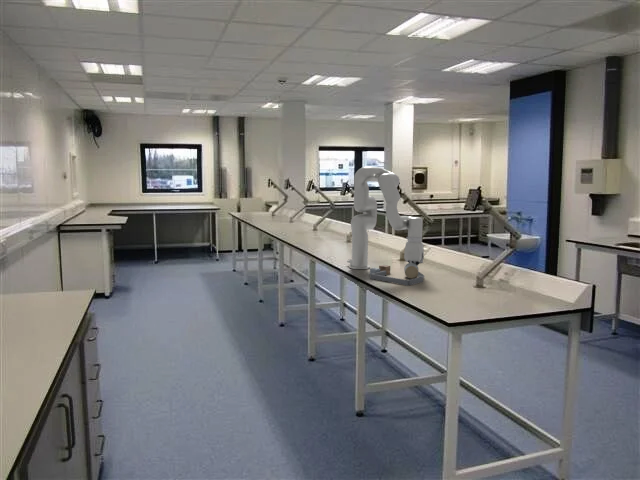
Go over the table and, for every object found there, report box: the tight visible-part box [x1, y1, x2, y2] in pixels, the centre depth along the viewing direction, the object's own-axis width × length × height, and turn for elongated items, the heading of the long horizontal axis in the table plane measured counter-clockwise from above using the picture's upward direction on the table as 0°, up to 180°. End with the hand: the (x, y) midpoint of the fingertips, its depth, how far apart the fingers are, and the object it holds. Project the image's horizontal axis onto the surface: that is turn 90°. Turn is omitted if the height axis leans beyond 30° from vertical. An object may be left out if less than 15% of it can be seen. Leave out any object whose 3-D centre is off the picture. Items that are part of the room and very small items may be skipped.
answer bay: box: [369, 271, 424, 286], centre depth 270 cm, size 24×14×2 cm, turn 47°
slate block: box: [369, 267, 380, 275], centre depth 282 cm, size 4×4×4 cm
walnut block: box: [378, 264, 391, 275], centre depth 288 cm, size 4×4×4 cm
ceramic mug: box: [404, 262, 425, 280], centre depth 276 cm, size 11×8×8 cm
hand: (413, 272), depth 283 cm, fingers closed
